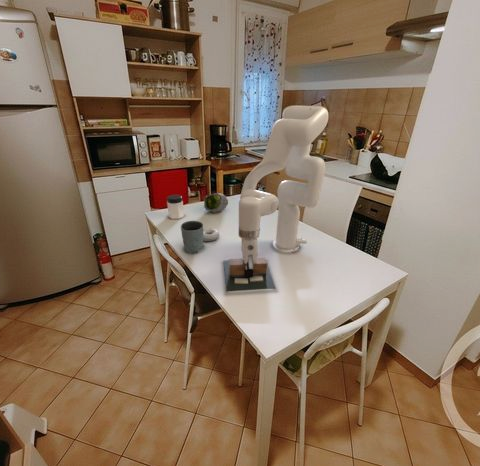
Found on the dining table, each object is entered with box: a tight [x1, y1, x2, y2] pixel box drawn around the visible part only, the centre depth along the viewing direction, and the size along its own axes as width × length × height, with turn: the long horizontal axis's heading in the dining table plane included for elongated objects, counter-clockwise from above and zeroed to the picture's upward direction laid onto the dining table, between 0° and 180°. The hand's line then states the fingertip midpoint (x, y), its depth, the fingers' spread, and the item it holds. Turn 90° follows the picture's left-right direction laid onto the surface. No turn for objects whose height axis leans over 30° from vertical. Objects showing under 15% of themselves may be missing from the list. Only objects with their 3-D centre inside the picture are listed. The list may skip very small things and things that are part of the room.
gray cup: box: [180, 220, 204, 254], centre depth 119 cm, size 10×10×12 cm
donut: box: [203, 227, 220, 242], centre depth 130 cm, size 10×3×10 cm
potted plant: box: [203, 192, 229, 214], centre depth 158 cm, size 12×13×15 cm
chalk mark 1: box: [235, 278, 248, 284], centre depth 98 cm, size 5×2×1 cm, turn 88°
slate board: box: [223, 259, 276, 292], centre depth 103 cm, size 18×20×1 cm
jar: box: [166, 194, 185, 220], centre depth 151 cm, size 9×8×12 cm
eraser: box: [228, 257, 268, 278], centre depth 101 cm, size 14×4×6 cm, turn 96°
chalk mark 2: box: [249, 276, 263, 282], centre depth 100 cm, size 5×2×1 cm, turn 96°
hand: (247, 272), depth 102 cm, fingers closed on eraser, 4 cm apart
